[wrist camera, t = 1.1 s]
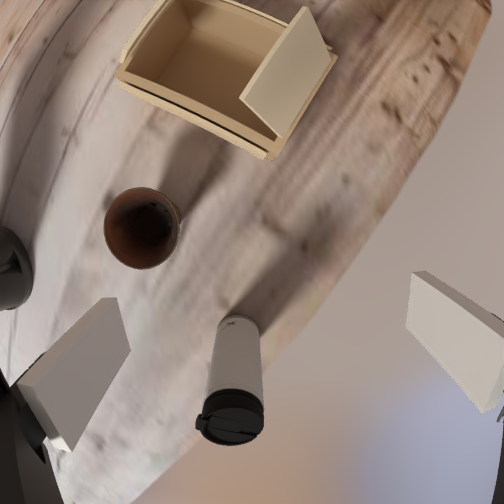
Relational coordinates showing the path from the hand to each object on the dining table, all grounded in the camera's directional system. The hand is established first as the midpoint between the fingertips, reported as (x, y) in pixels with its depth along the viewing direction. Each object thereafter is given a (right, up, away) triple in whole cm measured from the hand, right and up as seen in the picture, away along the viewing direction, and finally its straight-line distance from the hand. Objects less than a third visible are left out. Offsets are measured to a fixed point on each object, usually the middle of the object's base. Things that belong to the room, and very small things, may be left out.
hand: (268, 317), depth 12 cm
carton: (-4, +25, +23) cm, 34 cm away
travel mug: (-3, -9, +32) cm, 33 cm away
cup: (-13, +7, +27) cm, 31 cm away
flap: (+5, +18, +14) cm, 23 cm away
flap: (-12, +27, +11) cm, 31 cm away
